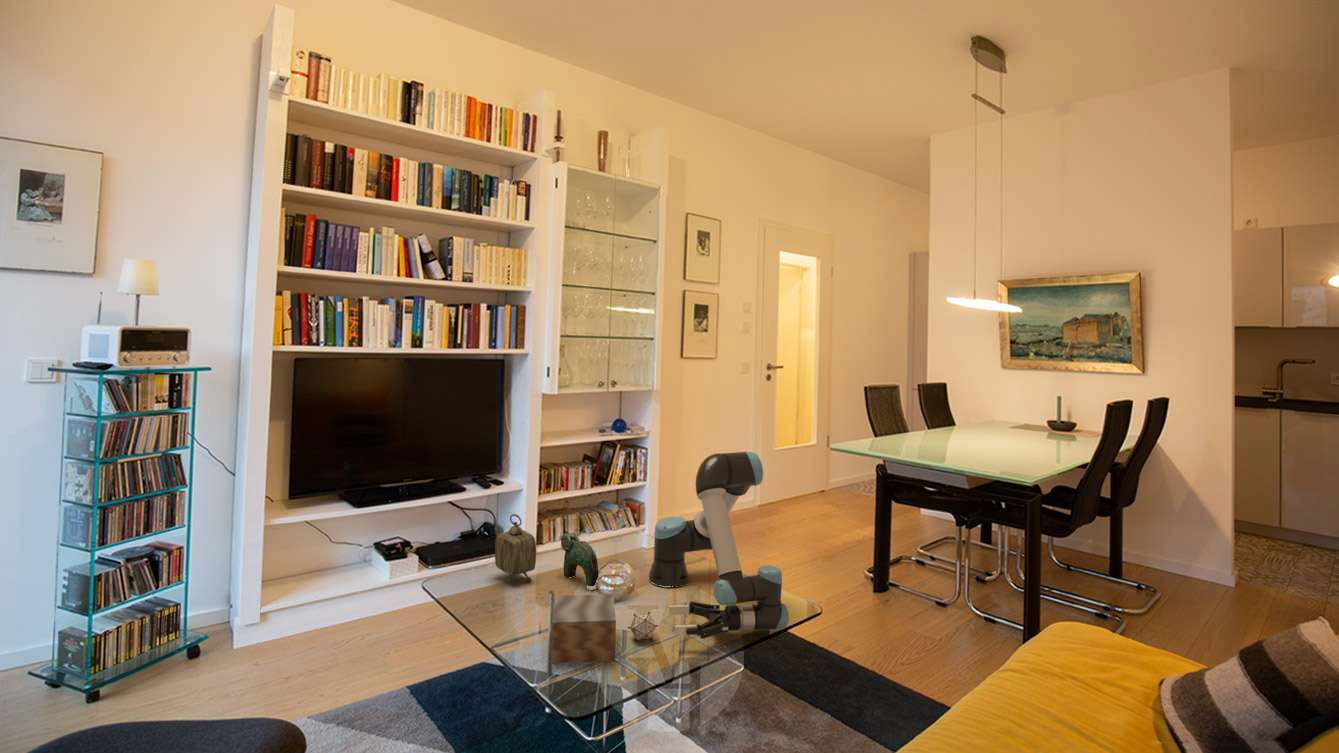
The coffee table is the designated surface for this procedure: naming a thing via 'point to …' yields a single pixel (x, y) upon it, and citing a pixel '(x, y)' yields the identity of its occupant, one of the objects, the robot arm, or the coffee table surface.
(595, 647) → the walnut crate
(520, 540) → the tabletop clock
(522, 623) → the coffee table surface
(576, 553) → the green elephant figurine
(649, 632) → the geometric polyhedron ornament
